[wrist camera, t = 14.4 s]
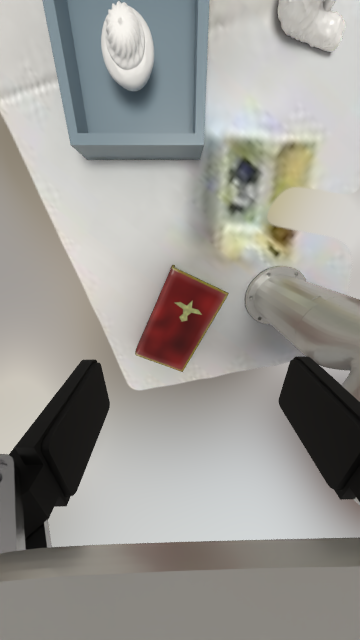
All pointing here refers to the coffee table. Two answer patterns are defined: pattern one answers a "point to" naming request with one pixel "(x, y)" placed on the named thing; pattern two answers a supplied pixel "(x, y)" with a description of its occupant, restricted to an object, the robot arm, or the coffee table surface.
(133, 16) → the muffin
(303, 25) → the white creature statuette
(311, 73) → the coffee table surface
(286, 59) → the coffee table surface
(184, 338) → the hardcover book
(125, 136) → the bin
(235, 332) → the coffee table surface
